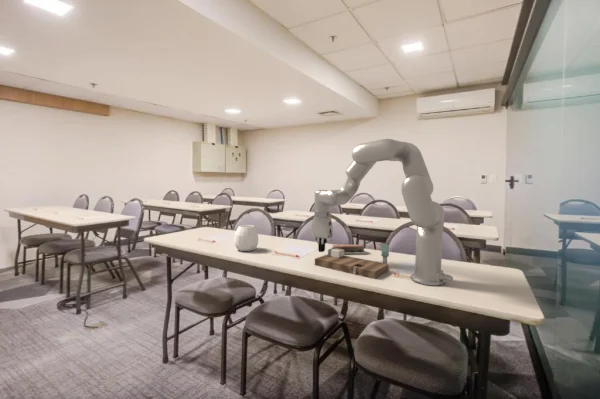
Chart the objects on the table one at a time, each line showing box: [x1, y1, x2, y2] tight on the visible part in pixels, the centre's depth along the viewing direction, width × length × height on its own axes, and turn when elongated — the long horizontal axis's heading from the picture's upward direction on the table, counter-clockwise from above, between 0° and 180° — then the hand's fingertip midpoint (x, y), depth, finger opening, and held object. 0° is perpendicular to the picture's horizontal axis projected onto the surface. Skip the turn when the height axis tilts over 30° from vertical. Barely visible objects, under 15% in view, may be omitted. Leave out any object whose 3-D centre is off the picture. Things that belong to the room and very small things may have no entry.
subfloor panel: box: [314, 253, 390, 280], centre depth 137 cm, size 30×15×3 cm, turn 51°
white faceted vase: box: [234, 224, 259, 252], centre depth 170 cm, size 13×13×14 cm
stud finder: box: [327, 247, 345, 258], centre depth 146 cm, size 6×5×3 cm
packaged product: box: [331, 243, 368, 256], centre depth 165 cm, size 18×5×10 cm
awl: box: [380, 243, 390, 264], centre depth 139 cm, size 3×3×10 cm
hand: (321, 251), depth 151 cm, fingers closed
